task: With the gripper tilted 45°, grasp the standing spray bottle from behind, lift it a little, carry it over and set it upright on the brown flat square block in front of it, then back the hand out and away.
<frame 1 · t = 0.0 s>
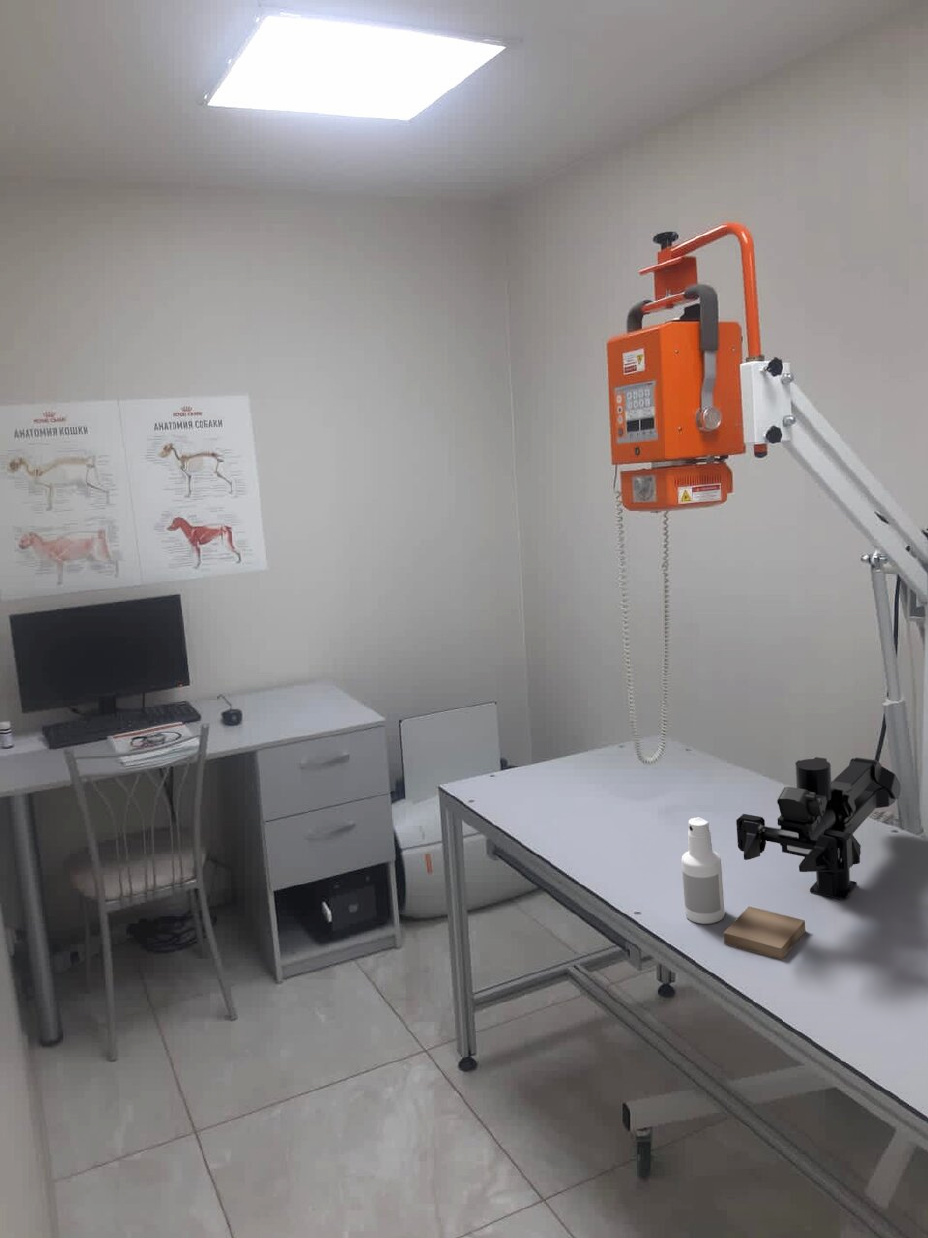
hand: (771, 862, 156), 17 cm above the table, tool horizontal, fingers open, 9 cm apart
spray bottle: (705, 916, 175), on the table
brown flat square block: (764, 937, 166), on the table
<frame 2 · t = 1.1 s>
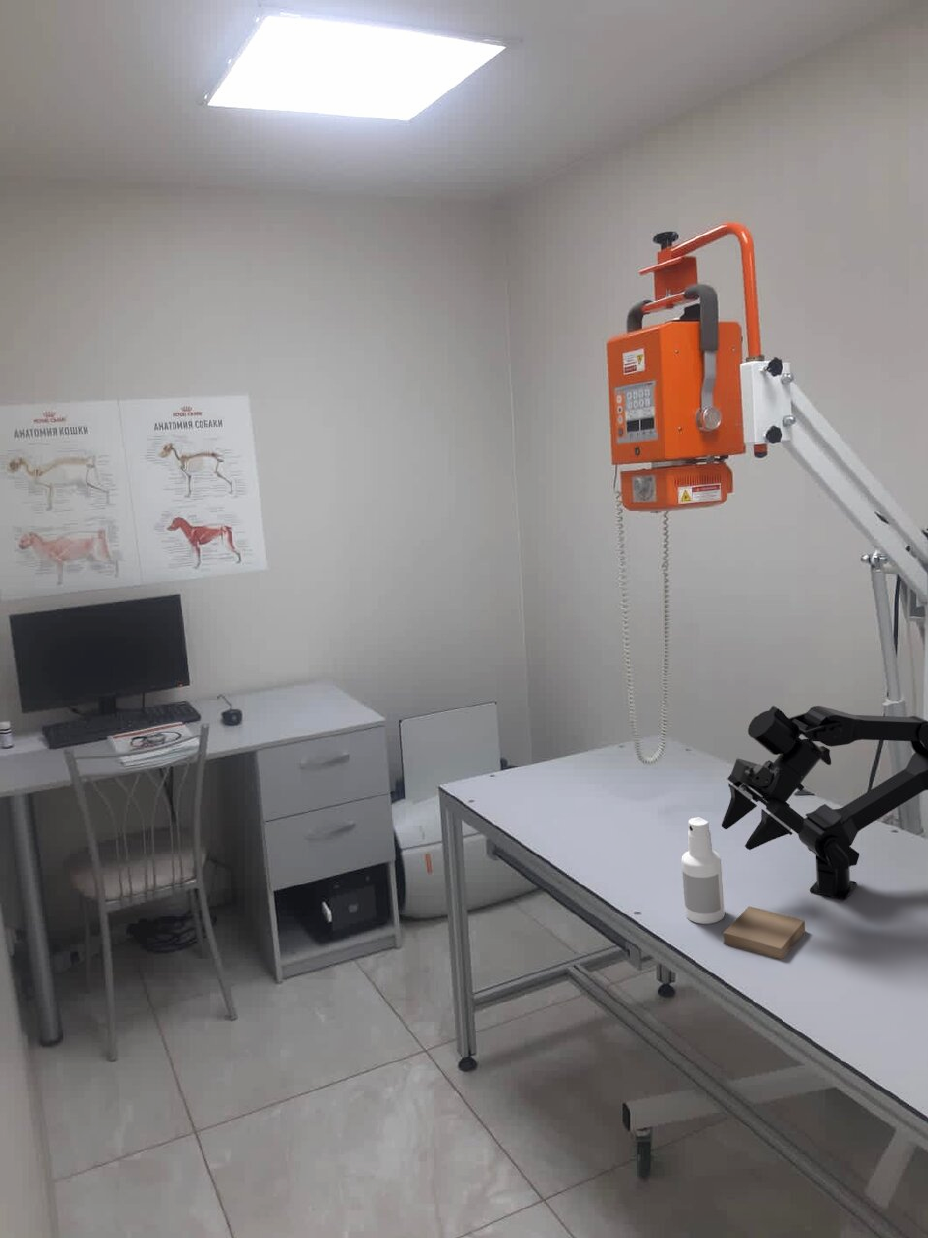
hand: (734, 837, 173), 14 cm above the table, tool tilted 45°, fingers open, 9 cm apart
nothing on the table moved.
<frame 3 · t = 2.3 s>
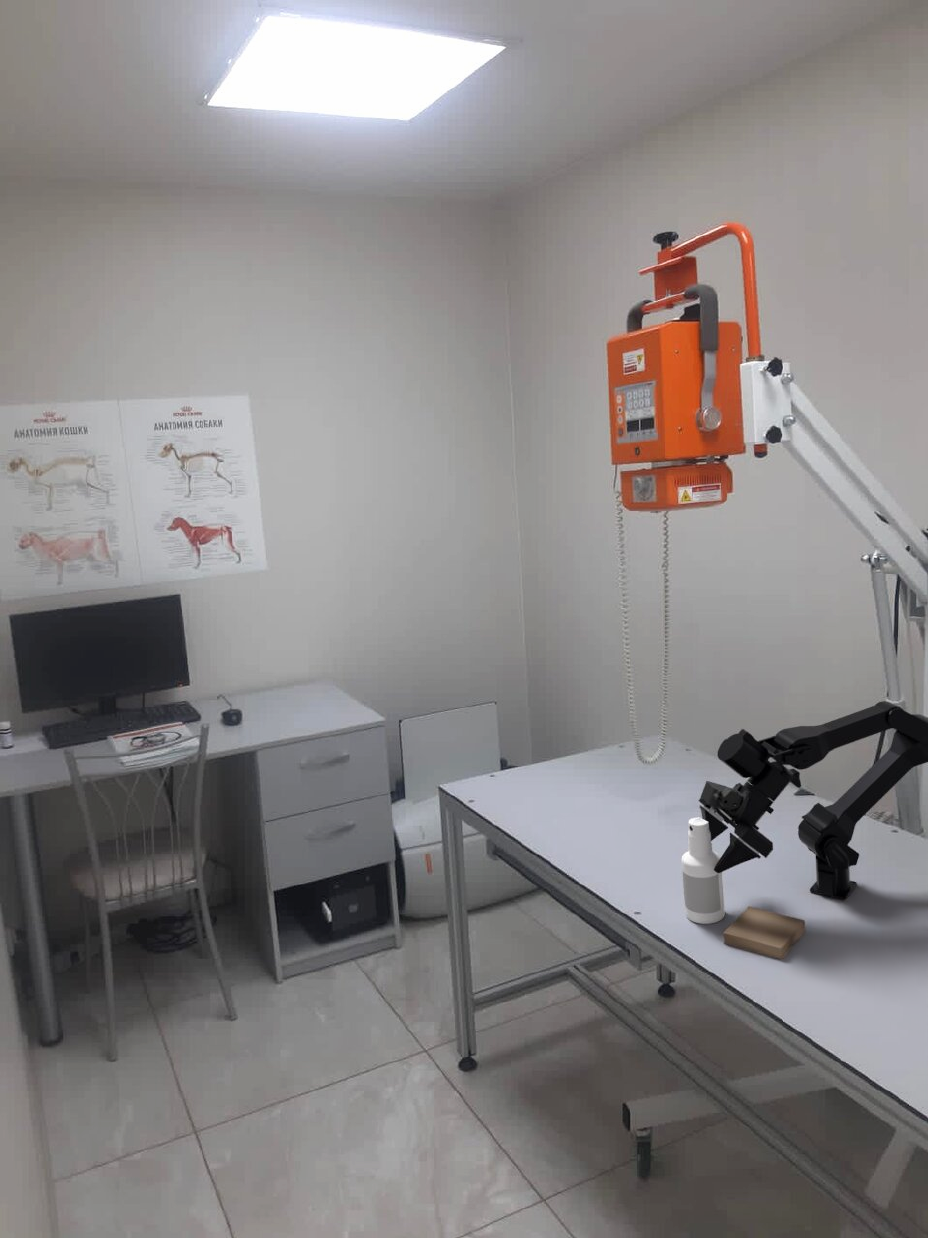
hand: (704, 860, 173), 10 cm above the table, tool tilted 45°, fingers open, 9 cm apart
nothing on the table moved.
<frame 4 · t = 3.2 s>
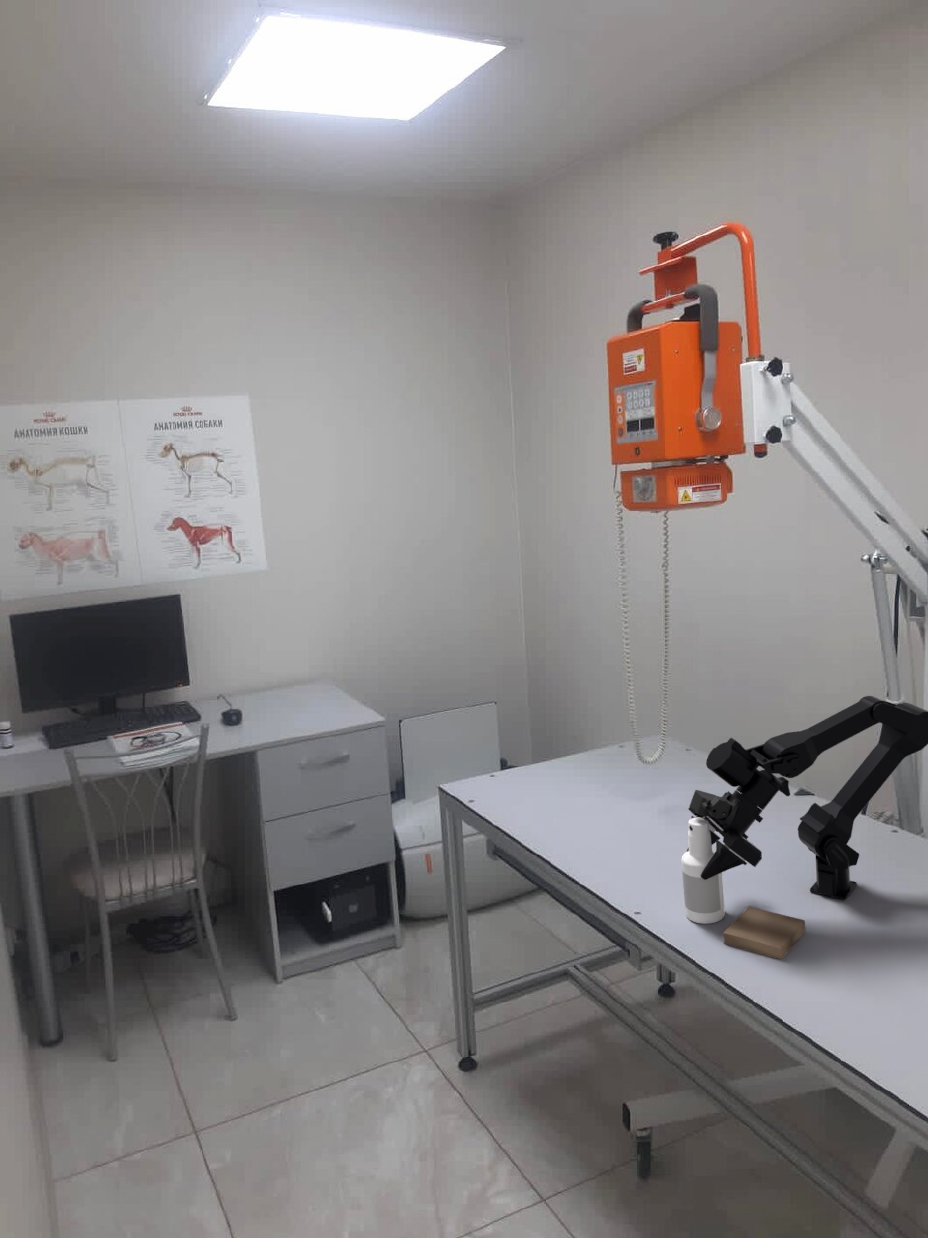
hand: (694, 869, 173), 9 cm above the table, tool tilted 45°, fingers closed on spray bottle, 7 cm apart
spray bottle: (705, 916, 175), on the table, touching gripper
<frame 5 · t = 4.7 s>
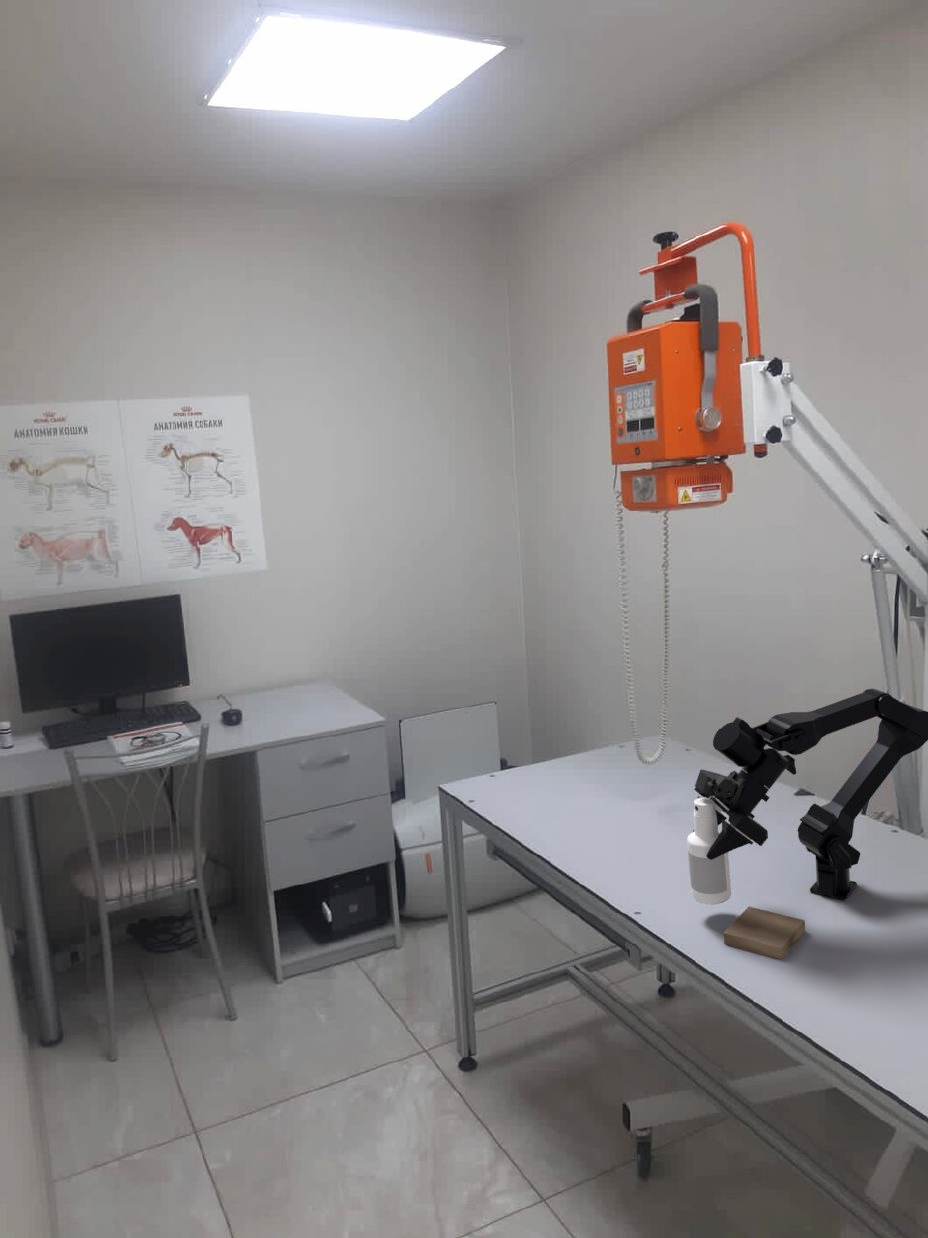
hand: (700, 849, 171), 13 cm above the table, tool tilted 45°, fingers closed on spray bottle, 7 cm apart
spray bottle: (711, 896, 173), point 4 cm above the table, touching gripper
when the fingers open (12 cm above the table, at t = 6.3 s): spray bottle stays where it is, resting on brown flat square block.
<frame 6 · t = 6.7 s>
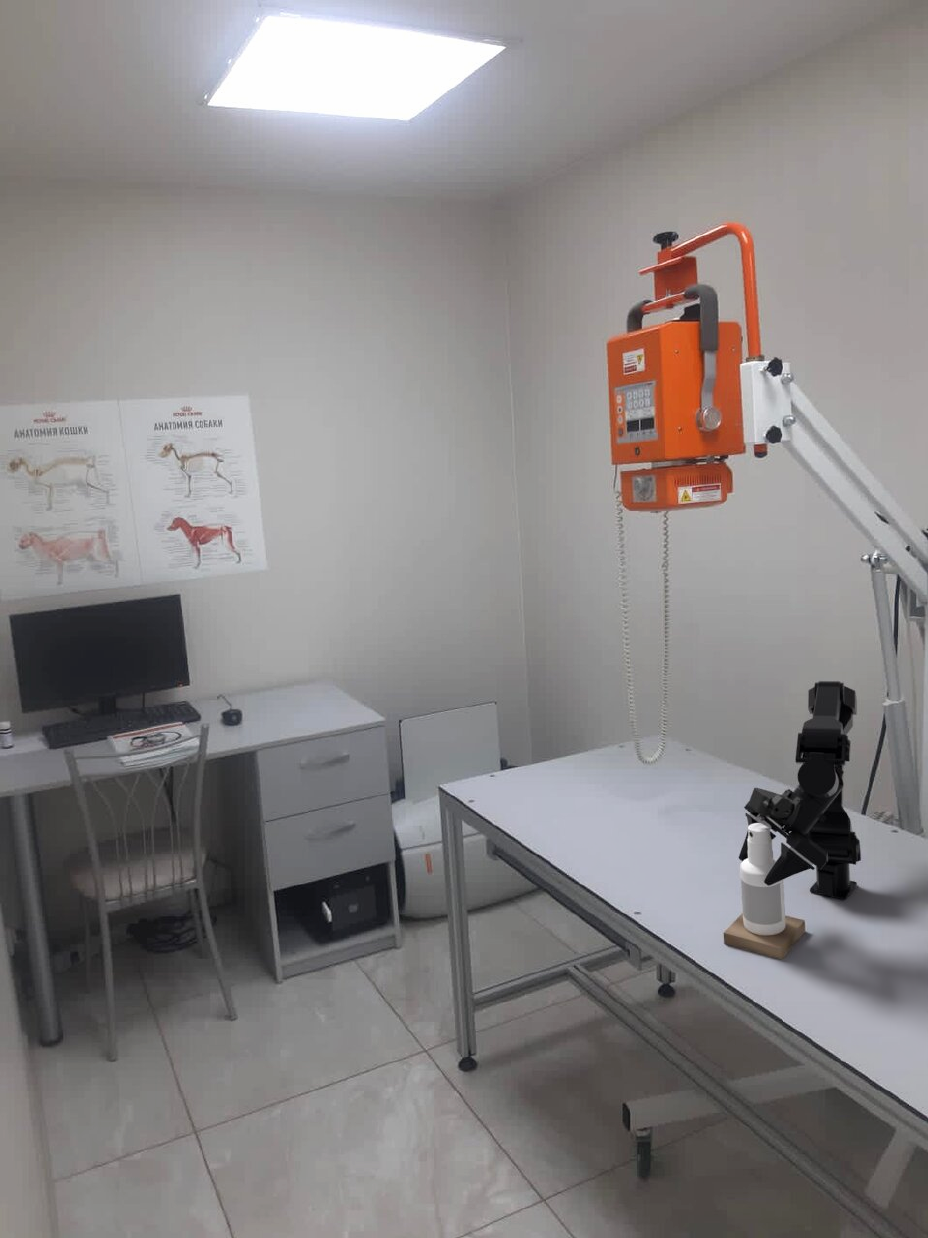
hand: (753, 871, 163), 12 cm above the table, tool tilted 45°, fingers open, 9 cm apart
spray bottle: (764, 927, 165), point 2 cm above the table, touching brown flat square block
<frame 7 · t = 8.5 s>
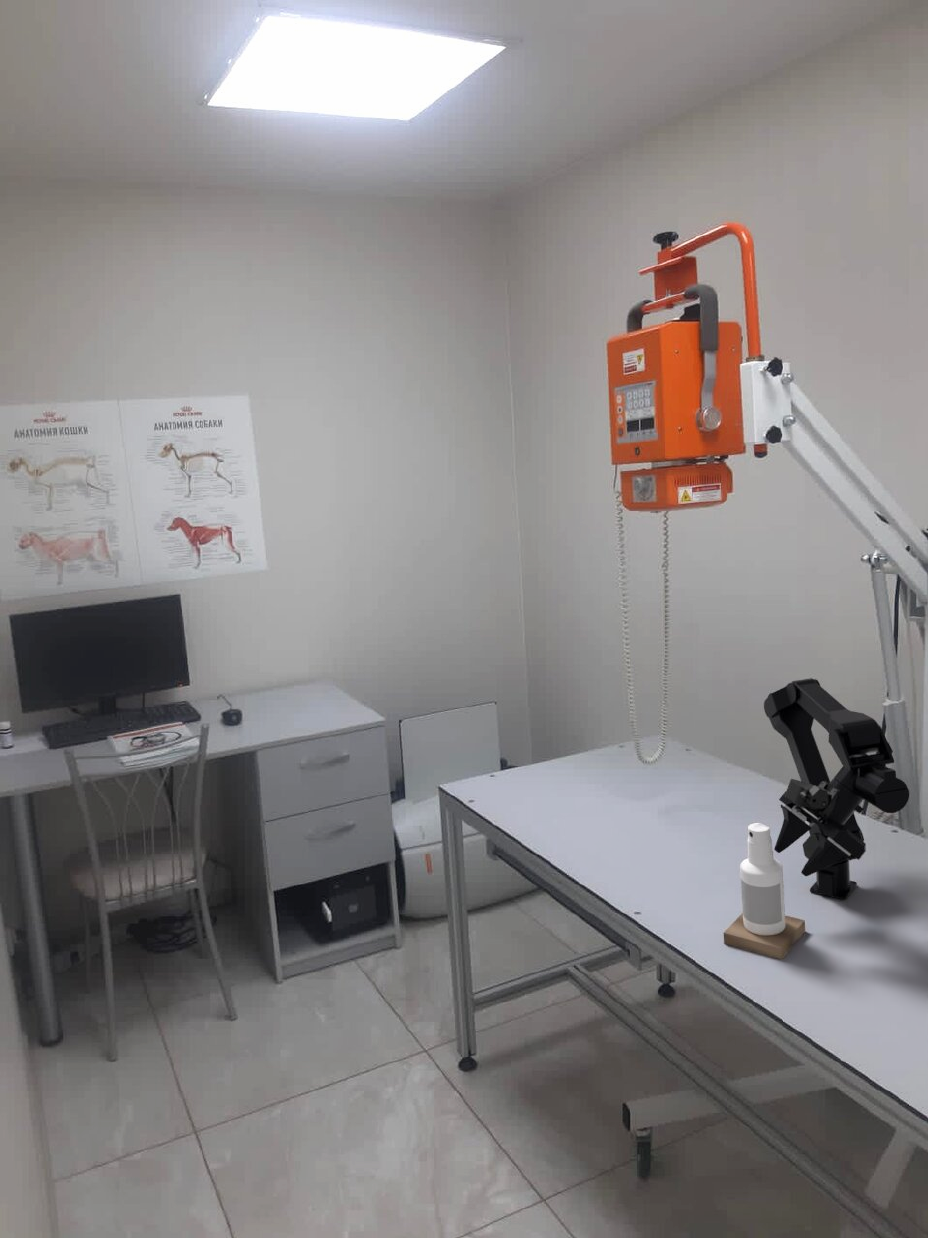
hand: (789, 862, 164), 13 cm above the table, tool tilted 45°, fingers open, 9 cm apart
nothing on the table moved.
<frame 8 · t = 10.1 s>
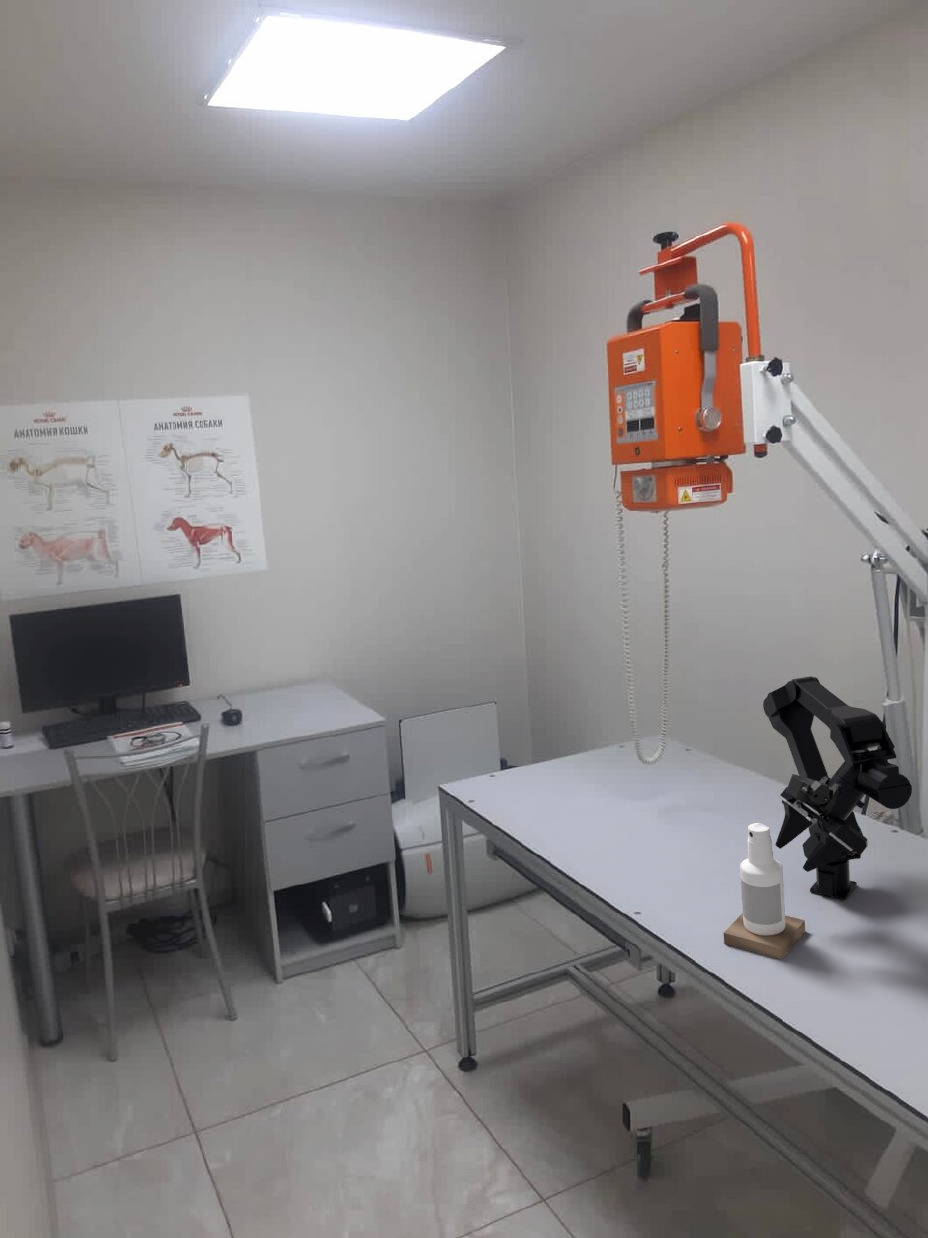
hand: (790, 858, 163), 14 cm above the table, tool tilted 45°, fingers open, 9 cm apart
nothing on the table moved.
at the end: spray bottle inside the target area on the brown flat square block (0.2 cm from its centre), point 1.8 cm above the brown flat square block's base; spray bottle tilted 0°; the gripper is holding nothing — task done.
